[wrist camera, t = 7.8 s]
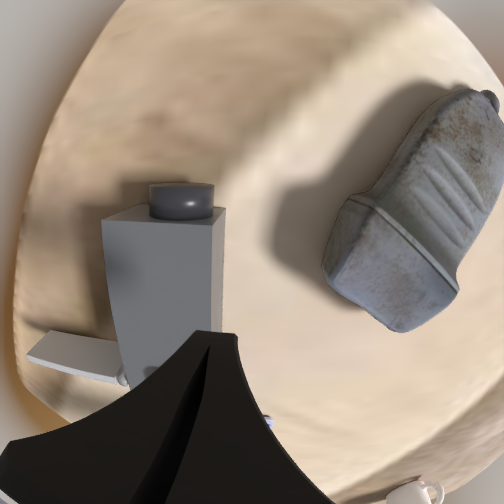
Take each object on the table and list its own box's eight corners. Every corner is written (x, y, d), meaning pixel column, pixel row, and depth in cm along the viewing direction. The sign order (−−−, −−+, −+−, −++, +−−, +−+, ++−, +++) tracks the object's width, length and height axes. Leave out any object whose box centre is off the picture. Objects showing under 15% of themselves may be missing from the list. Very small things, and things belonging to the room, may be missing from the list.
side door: (146, 342, 21) (125, 379, 17) (149, 354, 21) (130, 391, 17) (51, 328, 21) (25, 354, 17) (55, 339, 22) (30, 365, 17)
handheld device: (508, 136, 15) (543, 138, 10) (391, 318, 20) (414, 352, 16) (441, 52, 13) (475, 36, 9) (301, 254, 19) (312, 283, 15)
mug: (426, 468, 30) (441, 509, 20) (444, 468, 31) (458, 504, 22) (377, 498, 34) (386, 536, 24) (399, 497, 35) (408, 531, 25)
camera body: (221, 359, 21) (211, 410, 16) (150, 349, 22) (126, 395, 16) (226, 182, 17) (211, 192, 12) (137, 180, 17) (93, 191, 12)
